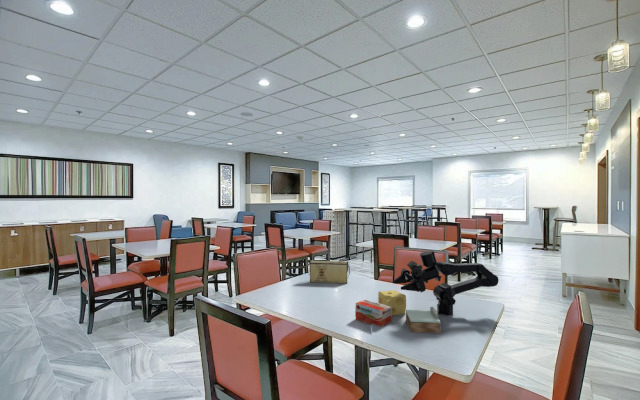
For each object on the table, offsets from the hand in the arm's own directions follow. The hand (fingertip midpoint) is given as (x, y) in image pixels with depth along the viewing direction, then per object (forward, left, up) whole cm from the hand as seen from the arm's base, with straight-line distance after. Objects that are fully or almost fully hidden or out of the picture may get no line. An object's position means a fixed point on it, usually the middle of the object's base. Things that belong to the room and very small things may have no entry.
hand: (396, 285), depth 146 cm
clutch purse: (+38, -61, -16) cm, 74 cm away
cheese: (+2, -6, -16) cm, 17 cm away
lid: (-9, +12, -10) cm, 18 cm away
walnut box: (-9, +12, -15) cm, 21 cm away
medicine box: (+12, +6, -16) cm, 21 cm away
